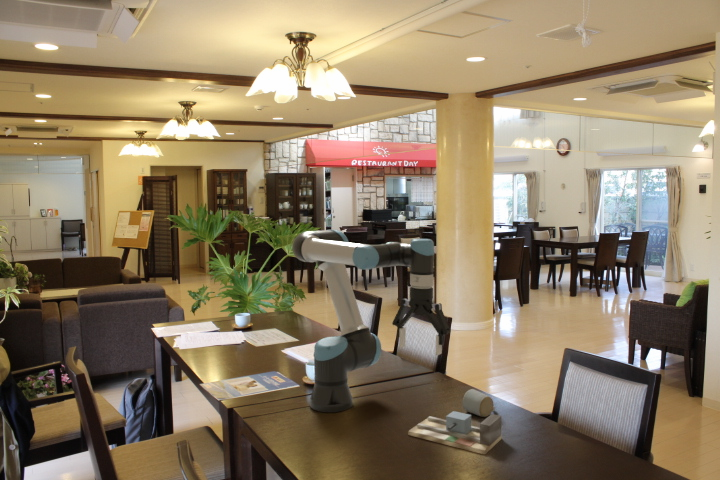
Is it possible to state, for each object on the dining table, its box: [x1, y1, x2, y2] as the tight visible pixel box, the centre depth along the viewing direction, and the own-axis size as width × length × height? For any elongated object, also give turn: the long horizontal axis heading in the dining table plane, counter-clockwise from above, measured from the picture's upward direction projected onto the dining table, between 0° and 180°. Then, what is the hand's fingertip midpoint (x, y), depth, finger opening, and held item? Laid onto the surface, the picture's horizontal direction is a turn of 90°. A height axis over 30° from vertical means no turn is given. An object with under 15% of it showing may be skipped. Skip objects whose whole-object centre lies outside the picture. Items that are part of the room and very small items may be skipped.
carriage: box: [445, 410, 472, 435], centre depth 175 cm, size 6×9×5 cm, turn 145°
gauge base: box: [407, 413, 503, 455], centre depth 176 cm, size 25×13×7 cm, turn 55°
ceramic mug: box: [461, 388, 496, 418], centre depth 195 cm, size 11×8×8 cm
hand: (420, 350), depth 189 cm, fingers open, 13 cm apart
